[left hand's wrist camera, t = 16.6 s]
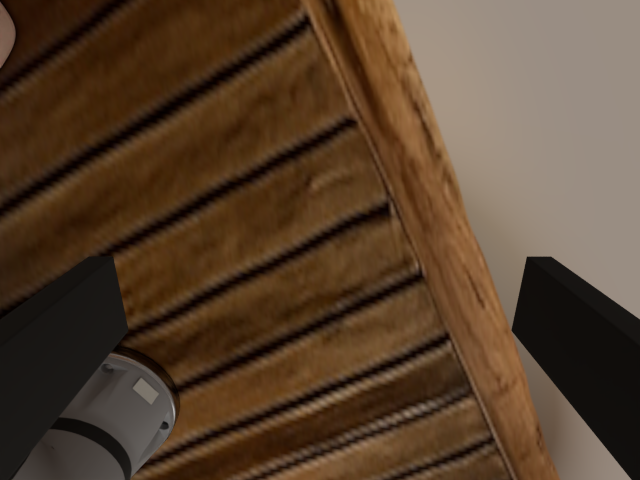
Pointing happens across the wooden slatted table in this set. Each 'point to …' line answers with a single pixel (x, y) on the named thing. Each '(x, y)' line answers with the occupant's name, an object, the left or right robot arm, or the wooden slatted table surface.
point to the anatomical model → (6, 34)
